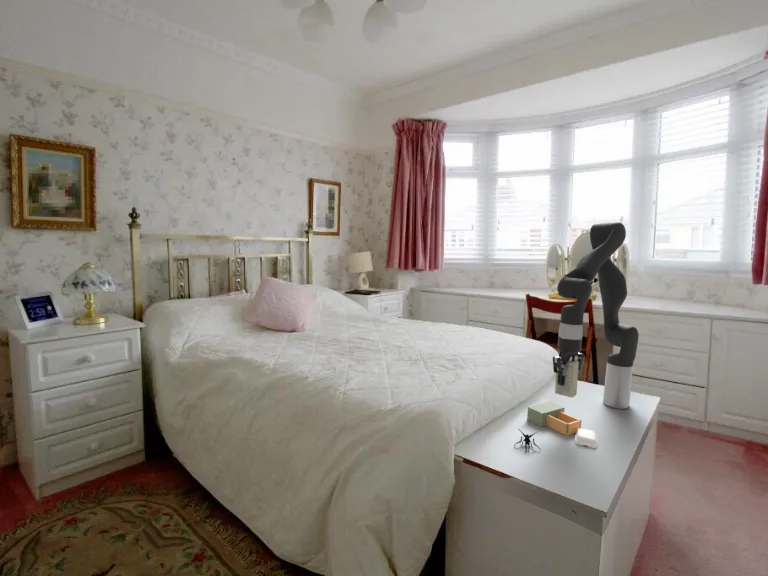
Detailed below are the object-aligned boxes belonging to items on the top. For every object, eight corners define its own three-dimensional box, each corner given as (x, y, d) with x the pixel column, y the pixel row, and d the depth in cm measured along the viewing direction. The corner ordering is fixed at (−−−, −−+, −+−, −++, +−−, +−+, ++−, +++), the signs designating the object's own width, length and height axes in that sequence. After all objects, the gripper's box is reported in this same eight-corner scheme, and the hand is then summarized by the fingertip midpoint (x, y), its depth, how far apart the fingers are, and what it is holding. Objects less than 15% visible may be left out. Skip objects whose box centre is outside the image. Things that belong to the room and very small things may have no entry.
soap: (597, 450, 135) (598, 441, 135) (574, 444, 138) (574, 436, 138) (597, 438, 143) (598, 430, 143) (575, 433, 146) (576, 425, 146)
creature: (540, 459, 130) (539, 442, 137) (542, 444, 128) (541, 428, 135) (513, 454, 132) (514, 438, 139) (514, 440, 130) (515, 424, 138)
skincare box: (576, 395, 147) (579, 361, 146) (572, 398, 144) (575, 363, 143) (558, 390, 152) (561, 357, 150) (553, 393, 148) (556, 359, 147)
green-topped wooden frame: (548, 413, 161) (549, 401, 161) (584, 429, 148) (585, 416, 148) (527, 420, 155) (528, 407, 154) (562, 437, 142) (563, 423, 142)
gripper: (573, 331, 152) (569, 377, 154) (547, 335, 145) (543, 383, 147) (593, 336, 146) (588, 384, 148) (566, 340, 138) (562, 390, 141)
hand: (566, 383), depth 147 cm, fingers closed on skincare box, 5 cm apart
